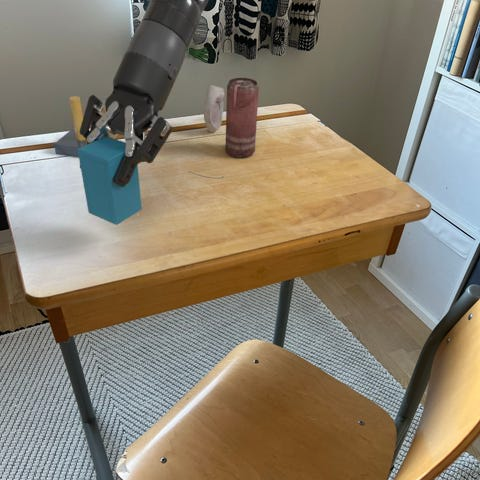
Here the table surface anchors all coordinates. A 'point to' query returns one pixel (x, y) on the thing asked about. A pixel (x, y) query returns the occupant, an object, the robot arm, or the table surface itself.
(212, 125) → the fossil
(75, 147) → the peg stand
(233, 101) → the can
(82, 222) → the table surface
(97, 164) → the tall teal pillar
